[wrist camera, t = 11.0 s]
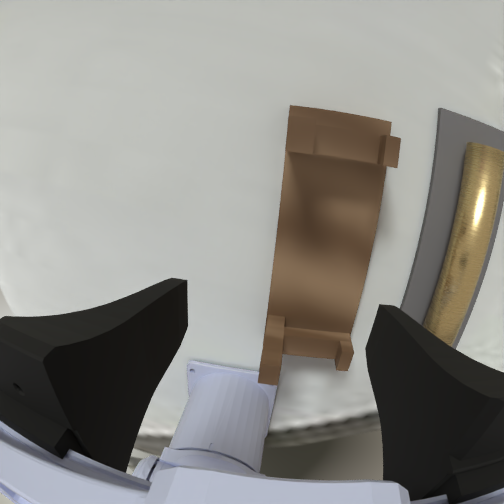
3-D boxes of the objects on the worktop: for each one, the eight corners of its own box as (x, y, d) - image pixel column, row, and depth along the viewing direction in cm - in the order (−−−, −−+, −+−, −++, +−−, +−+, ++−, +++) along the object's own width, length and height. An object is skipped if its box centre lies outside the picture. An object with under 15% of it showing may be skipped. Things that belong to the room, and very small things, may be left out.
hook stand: (343, 346, 23) (353, 404, 17) (264, 337, 24) (253, 395, 18) (386, 123, 17) (426, 115, 11) (290, 107, 18) (288, 88, 12)
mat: (443, 367, 23) (445, 370, 22) (378, 367, 23) (379, 370, 23) (508, 135, 16) (511, 135, 15) (438, 108, 16) (440, 107, 16)
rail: (436, 354, 22) (444, 376, 19) (406, 350, 22) (412, 373, 20) (493, 153, 16) (513, 155, 13) (460, 142, 17) (477, 142, 14)
